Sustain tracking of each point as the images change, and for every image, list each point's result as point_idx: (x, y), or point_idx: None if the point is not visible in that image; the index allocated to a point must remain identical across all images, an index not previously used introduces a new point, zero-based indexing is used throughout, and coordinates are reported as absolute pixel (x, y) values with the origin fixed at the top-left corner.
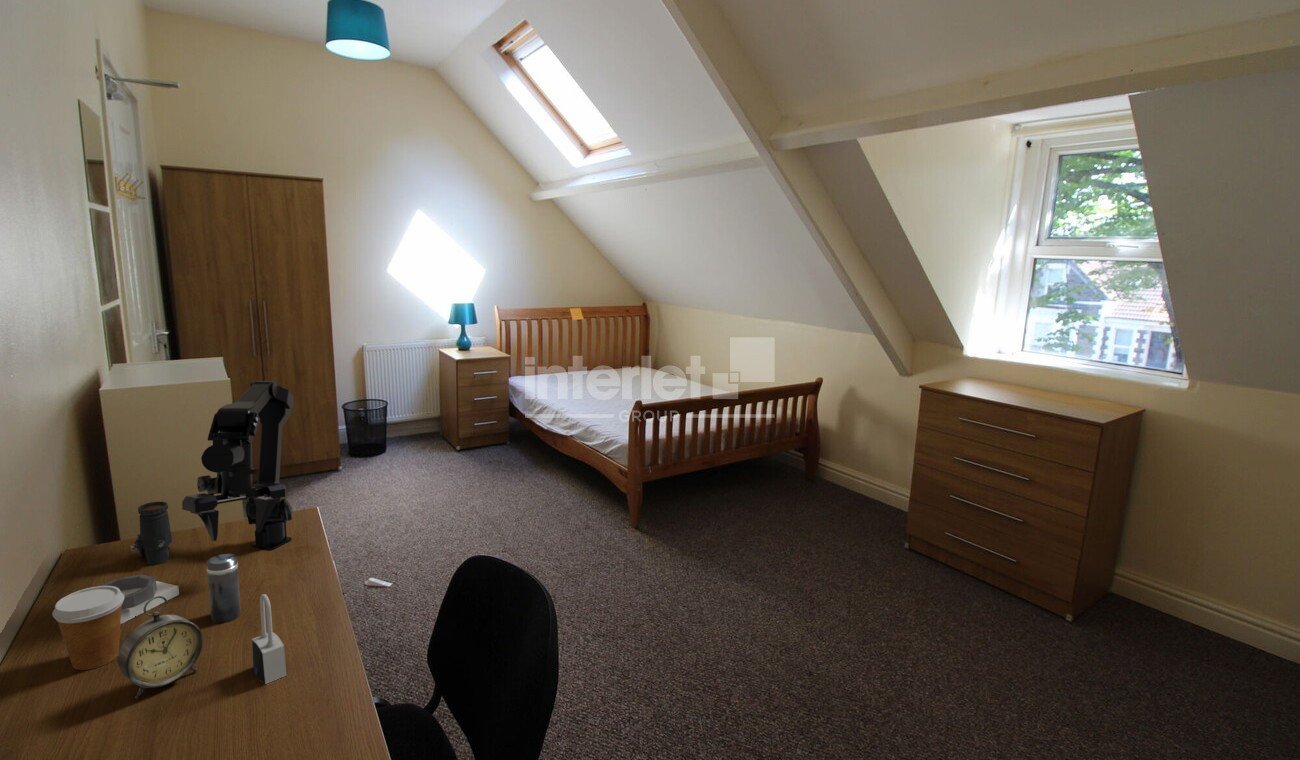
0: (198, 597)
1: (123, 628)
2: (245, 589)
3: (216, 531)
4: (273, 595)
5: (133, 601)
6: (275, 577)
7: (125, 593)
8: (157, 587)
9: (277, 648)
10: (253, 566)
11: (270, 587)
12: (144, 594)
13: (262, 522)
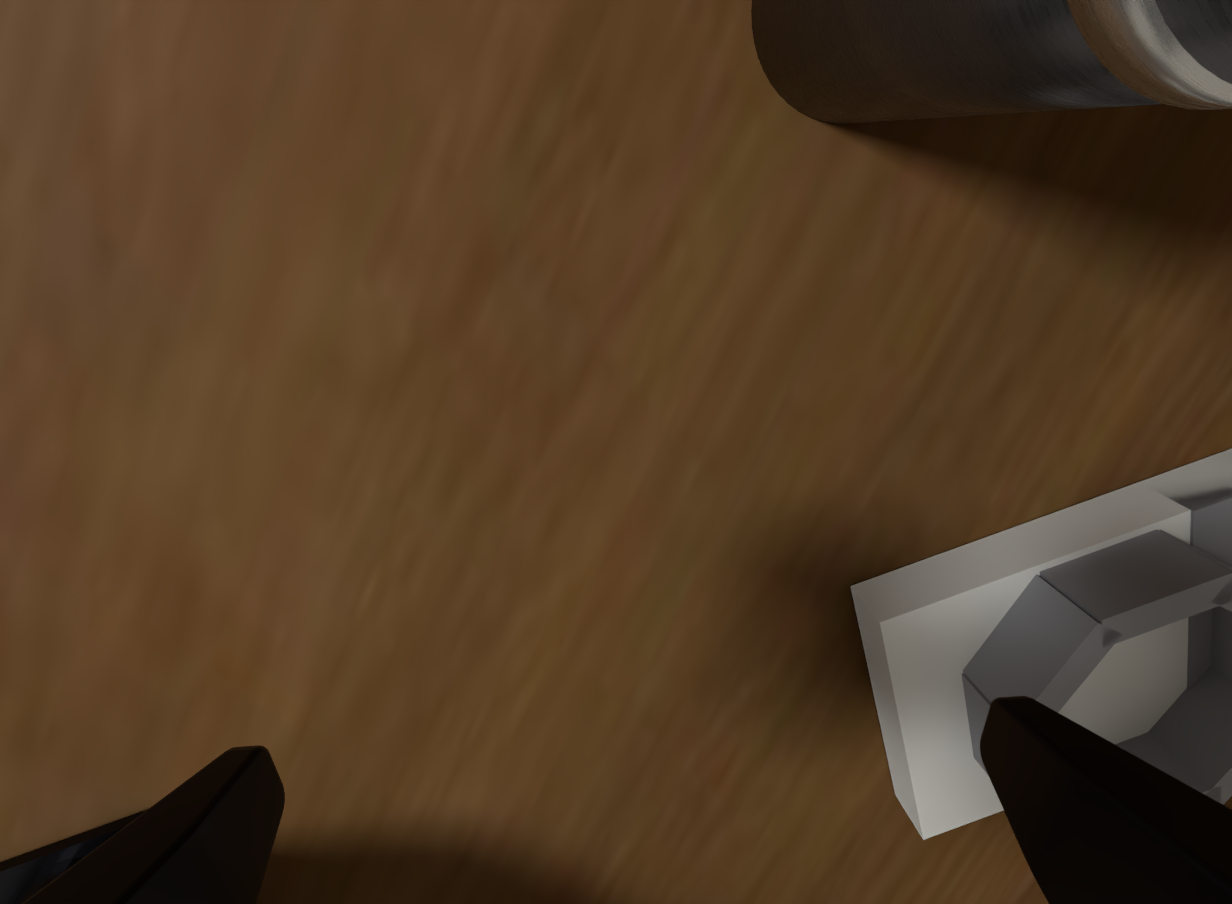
0: (806, 469)
1: (1213, 403)
2: (553, 344)
3: (1173, 816)
4: (438, 35)
5: (1190, 550)
6: (294, 365)
7: (1072, 719)
8: (951, 682)
9: None
10: (359, 654)
11: (397, 216)
12: (1130, 582)
13: (125, 873)
